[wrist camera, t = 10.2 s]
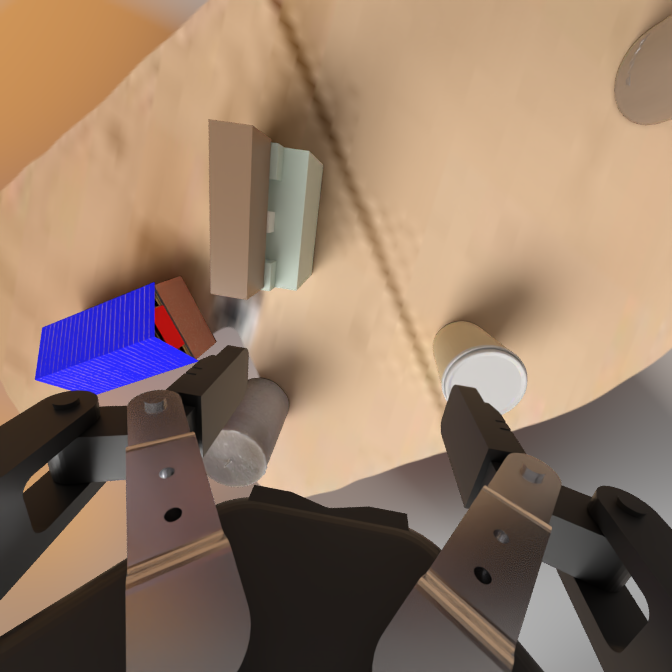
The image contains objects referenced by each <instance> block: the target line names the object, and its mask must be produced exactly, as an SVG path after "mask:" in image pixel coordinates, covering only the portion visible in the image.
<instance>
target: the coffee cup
mask: <svg viewBox="0 0 672 672" xmlns="http://www.w3.org/2000/svg"><path fill="white" fill-rule="evenodd" d="M433 354H434V359H435V362H436V366H437V370H438V374H439V377H440V381H441V384H442V391H443V395H444V397H445V399H446V401H448V398H449V395H450V392H451V389H452V387H453V386H454V385H455V384H456V385H462V386H468V387H474V388H476V389H477V390H478V392H479V394H480V396H481V397H482V399H483V401H484V402H485V403H489V404H490V405H491V406H493V407H494V408H495V409H496V410H497V411H499V412H500V414H501V415H502V414H504V413H506V412H508V411H510V410H511V409H512V408H514V407H515V406H516V405H517V404H518V403H519V402H520V400H521V399H522V397H523V396H524V394H525V391H526V388H527V372H526V368H525V366H524V364H523V362H522V361H521V359H520V358H519V357H518V356H517V355H516V354H514V353H513V352H512V351H510V350H508V349H507V348H505V347H504V346H503V345H502V344H500V343H499V342H498V341H497V340H495V339H494V338H493V337H492V336H490V335H489V334H488V333H486V332H485V331H484V330H483V329H481V328H480V327H478V326H477V325H475V324H473V323H470V322H465V321H458V322H453V323H450V324H448V325H446V326H445V327H443V328H442V329H441V330H440V331H439V332H438V333H437V335H436V336H435V338H434V341H433Z"/></svg>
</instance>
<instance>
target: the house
mask: <svg viewBox="0 0 672 672" xmlns="http://www.w3.org/2000/svg"><path fill="white" fill-rule="evenodd" d="M155 295H156V296H155ZM156 297H157V298H156ZM157 299H158V300H157ZM155 300H156V301H157V303H158V305H159V306H157V307H155ZM159 302H160V303H159ZM160 304H161V305H160ZM155 325H156V326H157V328H158V330H159V331H160V333H161V335H162V336H163V338H164V340H165V342H166V343H165V342H164V340H163V338H162V337H161V335H160V333H159V332H158V330H157V328H156V327H155ZM155 330H156V332H157V333H158V335H159V337H160V338H161V340H160V338H159V337H158V335H157V333H156V332H155ZM155 334H156V336H157V337H158V338H156V336H155ZM216 342H217V341H216V339H215V337H214V335H213V334H212V333H211V332H210V330H209V328H208V326H207V324H206V322H205V320H204V318H203V316H202V315H201V313H200V311H199V309H198V307H197V305H196V303H195V301H194V299H193V298H192V296H191V294H190V292H189V290H188V288H187V286H186V284H185V283H184V281H183V279H182V277H181V276H179V277H176V278H173V279H170V280H168V281H165V282H162V283H159V284H156V285H155V282H153V283H151V284H148V285H146V286H143V287H141V288H138V289H136V290H134V291H131V292H129V293H126V294H124V295H121V296H119V297H116V298H114V299H111V300H109V301H107V302H104V303H102V304H99V305H97V306H94V307H92V308H89V309H87V310H85V311H82V312H80V313H77V314H75V315H72V316H70V317H67V318H65V319H62V320H60V321H58V322H55V323H53V324H50V325H48V326H45V327H43V328H42V334H41V341H40V348H39V355H38V362H37V369H36V376H35V380H37V381H40V382H44V383H47V384H51V385H54V386H58V387H61V388H64V389H68V390H71V391H76V390H83V391H90V392H92V393H94V394H96V395H97V394H100V393H103V392H106V391H109V390H112V389H115V388H118V387H121V386H124V385H127V384H130V383H134V382H137V381H140V380H143V379H146V378H149V377H152V376H155V375H158V374H161V373H164V372H167V371H170V370H173V369H176V368H179V367H182V366H185V365H188V364H191V363H194V362H197V361H198V360H196V359H197V358H198V357H200V356H201V355H202V354H203V353H204V352H205V351H207V350H208V349H209V348H210V347H211V346H213V345H214V344H215V343H216ZM181 346H182V347H183V349H184V350H185V351H181V350H180V347H181ZM184 346H185V347H184ZM185 348H186V349H185Z"/></svg>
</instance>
